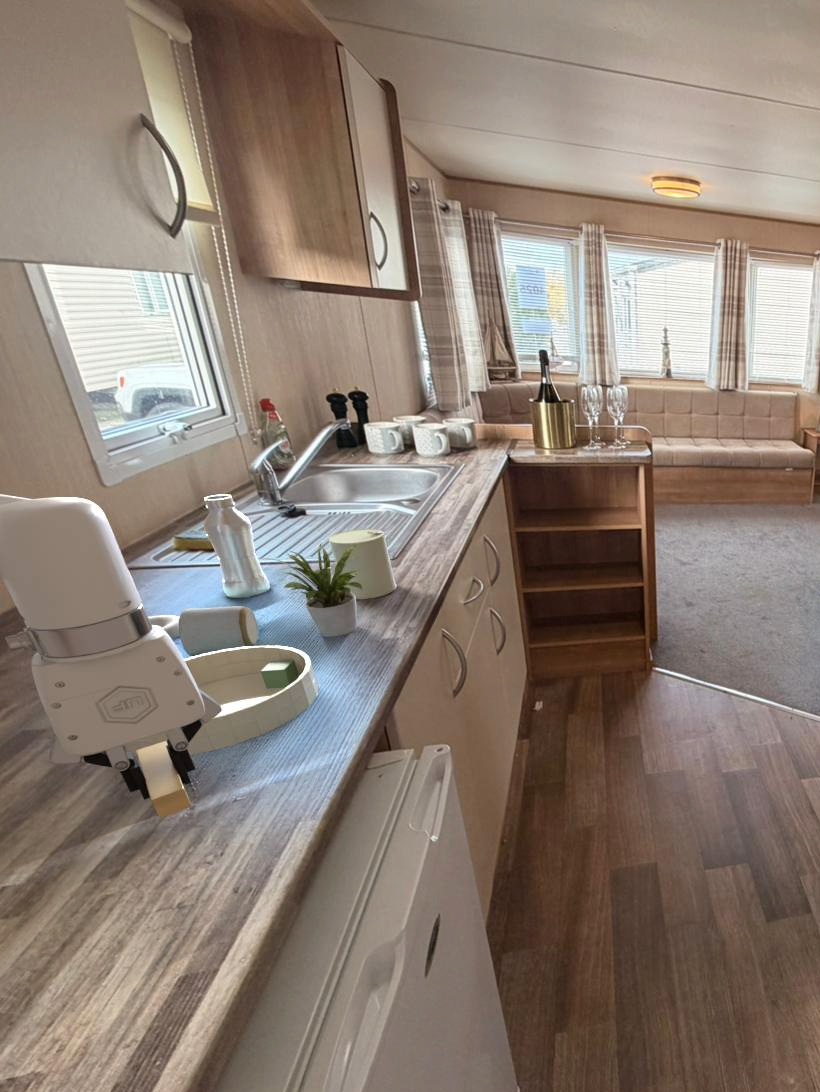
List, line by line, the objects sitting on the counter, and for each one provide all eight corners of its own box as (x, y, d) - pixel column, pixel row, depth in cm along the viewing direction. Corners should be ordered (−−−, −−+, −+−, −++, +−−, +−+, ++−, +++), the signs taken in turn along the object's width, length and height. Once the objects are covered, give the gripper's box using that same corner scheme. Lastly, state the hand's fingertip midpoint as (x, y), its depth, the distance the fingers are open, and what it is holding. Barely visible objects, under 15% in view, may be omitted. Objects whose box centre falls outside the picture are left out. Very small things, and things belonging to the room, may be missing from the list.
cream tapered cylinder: (401, 592, 127) (388, 535, 122) (346, 603, 122) (330, 544, 117) (392, 578, 134) (379, 523, 129) (339, 587, 128) (324, 531, 123)
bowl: (72, 746, 81) (55, 712, 78) (238, 665, 100) (228, 637, 98) (210, 773, 77) (196, 739, 75) (355, 685, 96) (347, 656, 94)
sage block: (266, 688, 93) (260, 671, 92) (276, 678, 96) (270, 661, 95) (290, 687, 94) (284, 669, 93) (299, 676, 96) (294, 659, 95)
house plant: (273, 661, 101) (242, 566, 95) (284, 626, 112) (256, 538, 105) (379, 643, 108) (356, 553, 102) (379, 612, 119) (359, 529, 112)
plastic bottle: (227, 597, 122) (192, 495, 114) (272, 590, 126) (241, 491, 118) (228, 609, 117) (191, 503, 109) (274, 601, 121) (242, 498, 113)
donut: (211, 630, 110) (148, 628, 109) (204, 612, 109) (141, 610, 108) (162, 658, 101) (93, 657, 100) (154, 639, 99) (84, 637, 99)
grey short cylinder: (254, 655, 103) (240, 612, 100) (188, 665, 99) (171, 620, 96) (268, 629, 111) (255, 588, 108) (207, 637, 108) (192, 595, 105)
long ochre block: (191, 806, 65) (183, 788, 64) (160, 818, 63) (151, 800, 62) (173, 757, 72) (165, 740, 71) (144, 767, 70) (135, 750, 69)
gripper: (-42, 675, 52) (56, 845, 60) (213, 617, 63) (269, 765, 71) (-38, 645, 57) (53, 806, 64) (199, 595, 68) (253, 737, 75)
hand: (166, 783), depth 67 cm, fingers closed on long ochre block, 2 cm apart
